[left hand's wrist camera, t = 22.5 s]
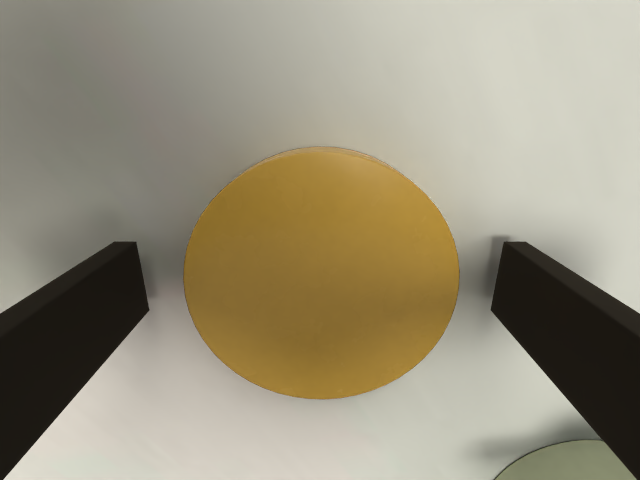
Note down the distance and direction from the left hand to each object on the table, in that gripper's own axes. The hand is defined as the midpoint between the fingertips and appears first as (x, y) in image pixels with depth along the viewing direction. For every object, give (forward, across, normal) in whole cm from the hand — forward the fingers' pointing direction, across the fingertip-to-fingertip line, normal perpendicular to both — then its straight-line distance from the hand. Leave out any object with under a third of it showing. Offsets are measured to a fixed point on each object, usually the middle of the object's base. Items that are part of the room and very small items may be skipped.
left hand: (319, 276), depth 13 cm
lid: (-1, 0, 0) cm, 1 cm away
